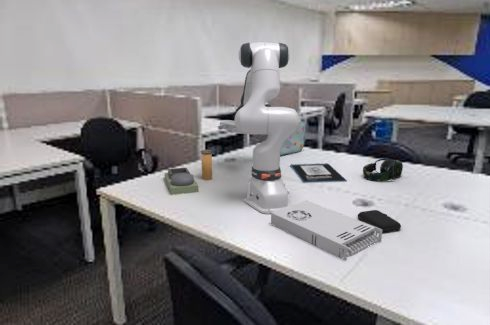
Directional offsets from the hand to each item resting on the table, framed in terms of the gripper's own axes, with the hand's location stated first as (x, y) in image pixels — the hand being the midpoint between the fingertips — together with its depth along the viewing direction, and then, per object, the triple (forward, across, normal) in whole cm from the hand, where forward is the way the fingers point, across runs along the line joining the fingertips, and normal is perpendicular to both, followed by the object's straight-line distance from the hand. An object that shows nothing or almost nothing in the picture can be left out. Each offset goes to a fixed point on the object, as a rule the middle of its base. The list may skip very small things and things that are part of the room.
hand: (224, 129), depth 190 cm
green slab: (+28, 0, +22) cm, 36 cm away
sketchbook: (-34, +33, +24) cm, 53 cm away
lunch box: (-56, -6, +25) cm, 62 cm away
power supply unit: (+22, +75, +22) cm, 81 cm away
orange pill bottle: (+13, 0, +23) cm, 26 cm away
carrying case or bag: (+1, +85, +22) cm, 88 cm away
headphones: (-51, +60, +24) cm, 83 cm away
